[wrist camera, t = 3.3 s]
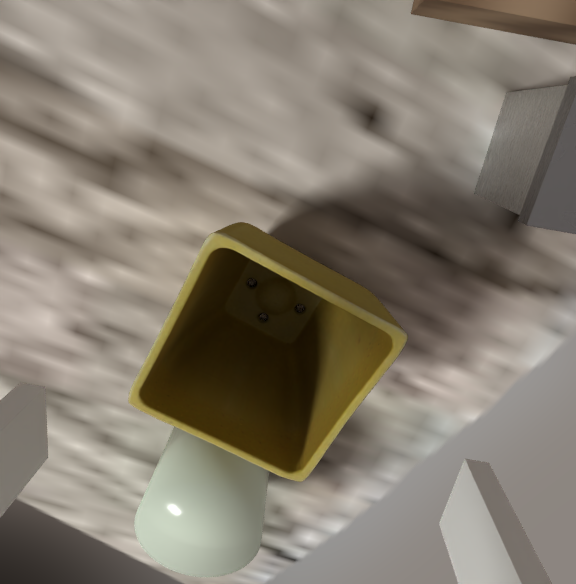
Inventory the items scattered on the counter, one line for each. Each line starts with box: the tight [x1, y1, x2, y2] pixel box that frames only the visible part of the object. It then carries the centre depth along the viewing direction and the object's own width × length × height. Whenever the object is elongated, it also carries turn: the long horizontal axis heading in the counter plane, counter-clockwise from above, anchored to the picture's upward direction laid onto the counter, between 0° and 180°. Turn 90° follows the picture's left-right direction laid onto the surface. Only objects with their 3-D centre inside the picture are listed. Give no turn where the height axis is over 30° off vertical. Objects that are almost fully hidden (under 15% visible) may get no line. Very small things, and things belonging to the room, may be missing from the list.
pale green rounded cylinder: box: [134, 426, 269, 577], centre depth 27 cm, size 7×7×7 cm
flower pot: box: [128, 222, 408, 482], centre depth 22 cm, size 9×9×9 cm
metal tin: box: [474, 76, 576, 234], centre depth 20 cm, size 5×5×7 cm
